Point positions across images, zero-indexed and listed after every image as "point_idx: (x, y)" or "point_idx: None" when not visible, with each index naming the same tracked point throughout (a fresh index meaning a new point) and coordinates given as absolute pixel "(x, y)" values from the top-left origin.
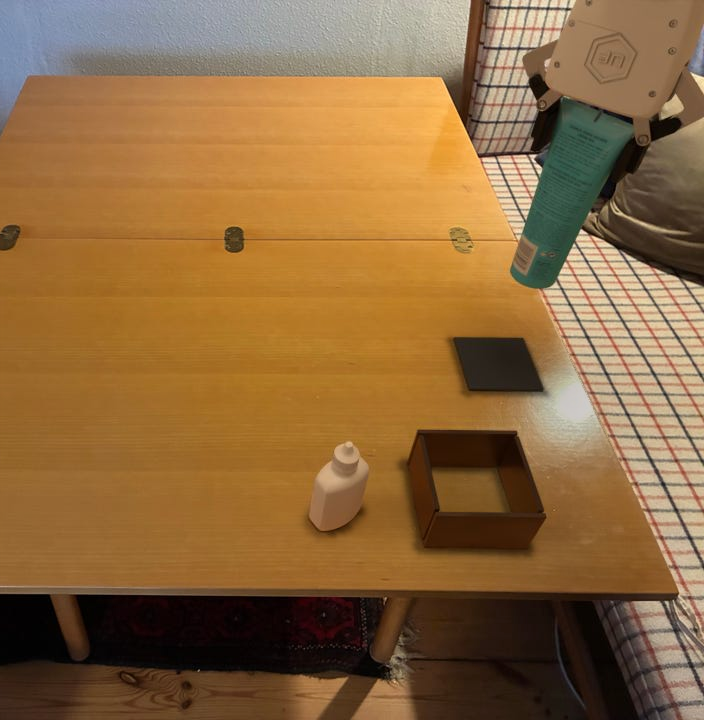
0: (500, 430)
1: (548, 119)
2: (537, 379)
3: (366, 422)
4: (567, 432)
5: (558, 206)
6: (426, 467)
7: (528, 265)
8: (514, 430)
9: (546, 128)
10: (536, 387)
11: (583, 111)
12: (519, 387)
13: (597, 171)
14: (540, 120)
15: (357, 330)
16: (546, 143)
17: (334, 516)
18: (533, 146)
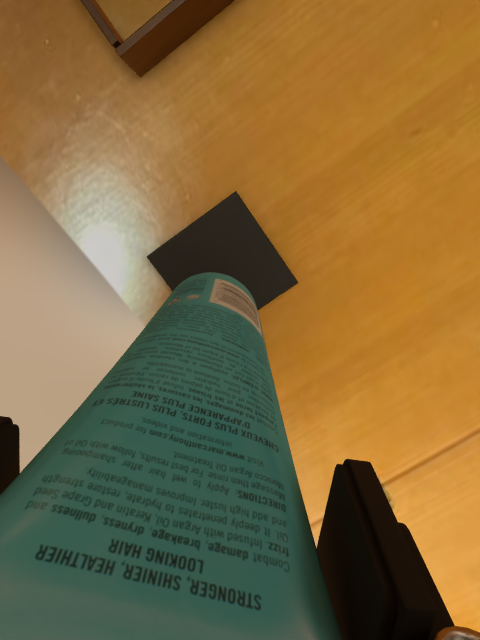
0: (141, 38)
1: (382, 587)
2: (162, 271)
3: (343, 23)
4: (90, 199)
5: (188, 351)
6: None
7: (217, 285)
8: (122, 54)
9: (361, 552)
10: (156, 253)
11: None
12: (176, 239)
13: (73, 437)
14: (417, 572)
15: (436, 210)
16: (324, 532)
17: None
18: (365, 471)
